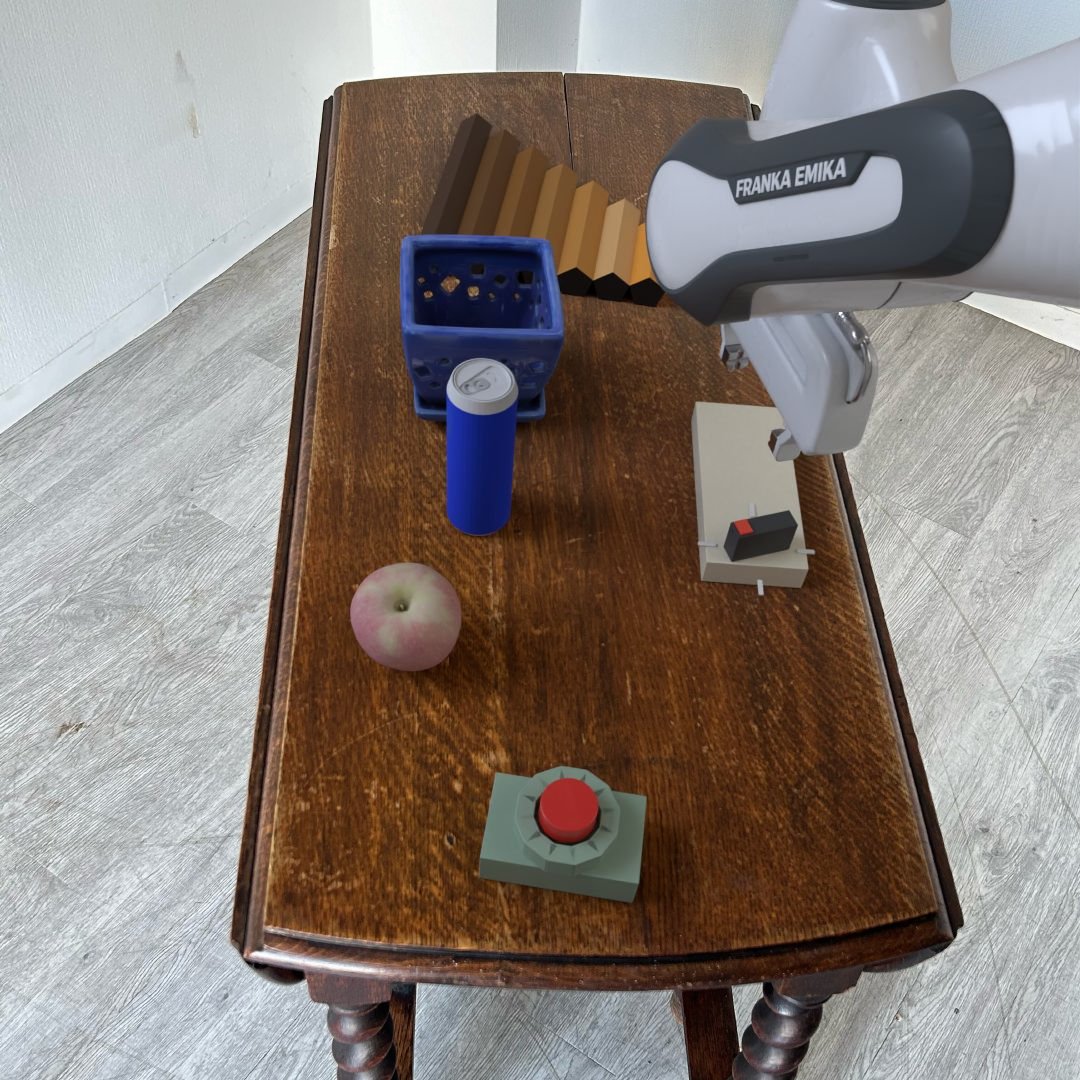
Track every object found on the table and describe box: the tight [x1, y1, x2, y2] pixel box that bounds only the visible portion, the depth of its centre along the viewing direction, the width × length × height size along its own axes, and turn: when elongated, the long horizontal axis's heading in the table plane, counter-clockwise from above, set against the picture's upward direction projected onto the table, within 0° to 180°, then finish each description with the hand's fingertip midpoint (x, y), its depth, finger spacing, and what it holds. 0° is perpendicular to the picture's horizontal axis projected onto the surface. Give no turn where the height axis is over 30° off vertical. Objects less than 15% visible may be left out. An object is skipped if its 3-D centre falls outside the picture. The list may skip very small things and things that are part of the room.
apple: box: [349, 562, 462, 672], centre depth 79 cm, size 8×8×8 cm
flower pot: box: [399, 234, 566, 423], centre depth 96 cm, size 13×13×12 cm
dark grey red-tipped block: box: [724, 510, 798, 562], centre depth 86 cm, size 5×2×3 cm, turn 108°
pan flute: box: [419, 112, 666, 308], centre depth 117 cm, size 25×3×25 cm
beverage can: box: [446, 358, 518, 537], centre depth 85 cm, size 5×5×15 cm
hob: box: [690, 401, 816, 597], centre depth 92 cm, size 21×9×3 cm, turn 178°
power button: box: [539, 778, 598, 843], centre depth 69 cm, size 4×4×2 cm
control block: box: [478, 765, 648, 904], centre depth 71 cm, size 10×6×5 cm, turn 82°
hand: (756, 407), depth 80 cm, fingers open, 8 cm apart
